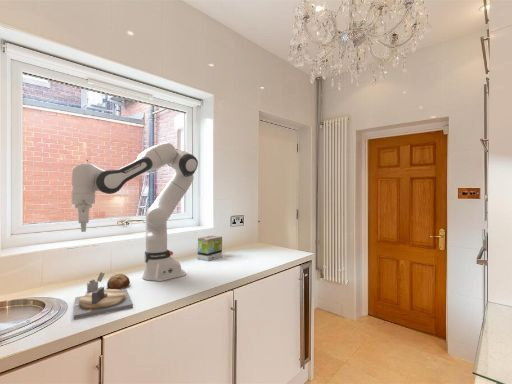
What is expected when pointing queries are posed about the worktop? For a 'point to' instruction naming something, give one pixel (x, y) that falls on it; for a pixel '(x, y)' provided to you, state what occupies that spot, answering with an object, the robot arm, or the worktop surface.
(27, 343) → the worktop surface
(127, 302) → the dial plate
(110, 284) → the bread roll
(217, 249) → the tea box
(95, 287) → the lighter
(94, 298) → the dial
